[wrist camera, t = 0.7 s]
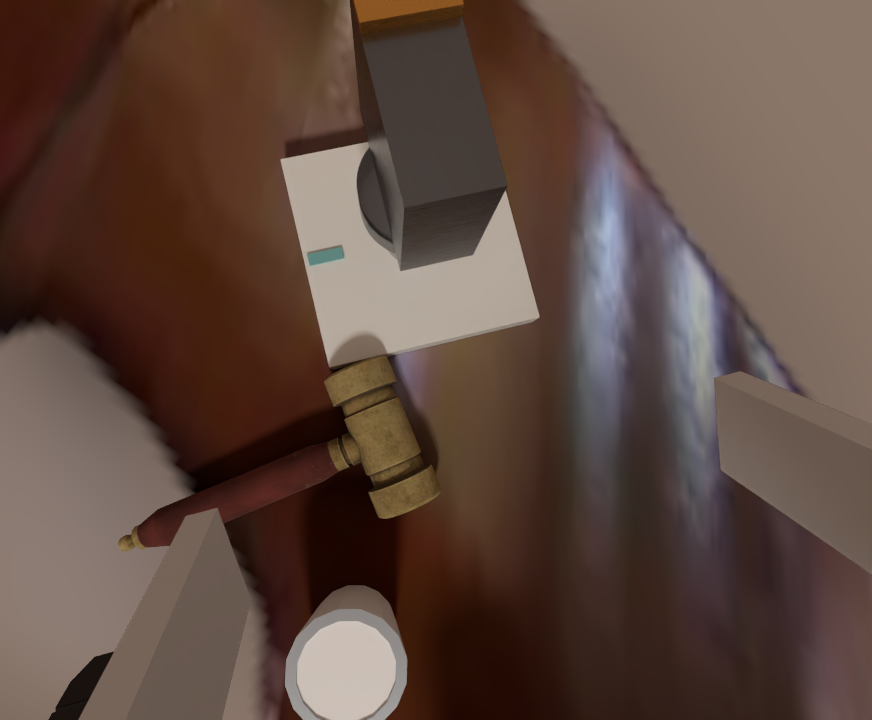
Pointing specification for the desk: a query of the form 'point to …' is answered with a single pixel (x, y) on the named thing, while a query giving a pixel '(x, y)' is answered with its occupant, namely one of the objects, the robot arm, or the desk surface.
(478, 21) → the desk surface
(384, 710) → the shot glass
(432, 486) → the gavel
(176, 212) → the desk surface
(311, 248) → the base
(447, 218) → the grey block orange cap
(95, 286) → the desk surface
